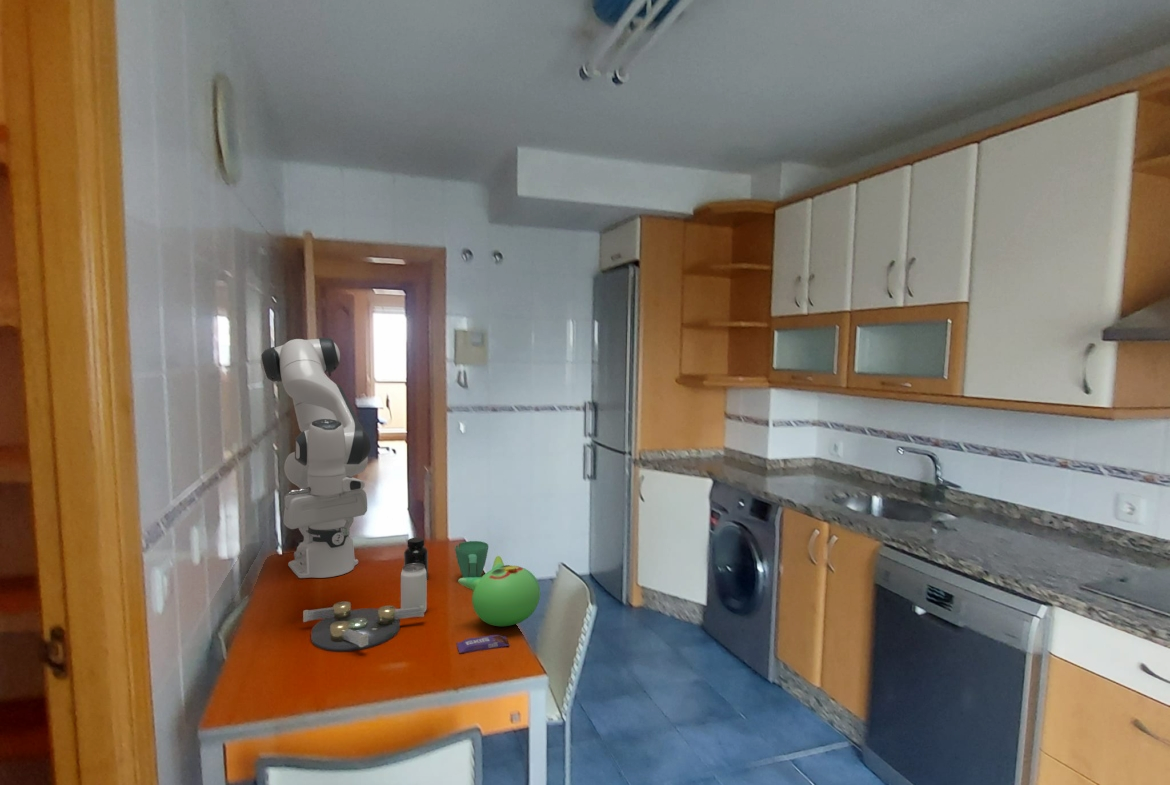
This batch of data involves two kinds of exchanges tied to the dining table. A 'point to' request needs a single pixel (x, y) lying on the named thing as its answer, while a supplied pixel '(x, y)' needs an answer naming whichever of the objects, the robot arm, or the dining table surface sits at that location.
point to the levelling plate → (359, 622)
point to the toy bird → (504, 594)
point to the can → (413, 586)
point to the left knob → (398, 613)
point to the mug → (471, 558)
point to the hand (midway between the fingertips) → (326, 538)
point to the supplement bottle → (416, 553)
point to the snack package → (482, 643)
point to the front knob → (347, 634)
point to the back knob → (329, 612)
